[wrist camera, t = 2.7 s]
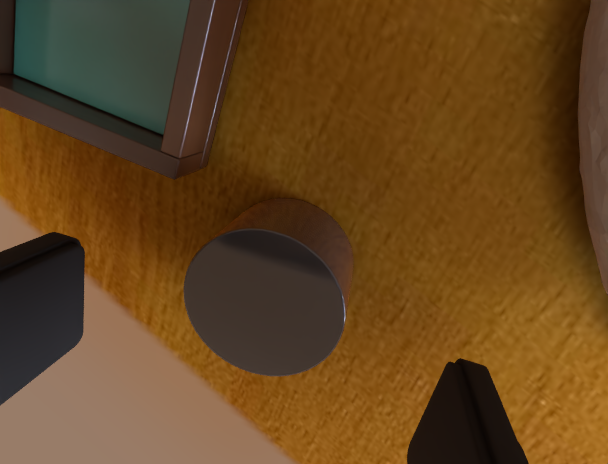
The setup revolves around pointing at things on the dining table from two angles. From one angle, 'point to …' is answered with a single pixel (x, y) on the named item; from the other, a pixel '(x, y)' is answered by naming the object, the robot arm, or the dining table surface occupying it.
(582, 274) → the dining table surface
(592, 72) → the decorative stone
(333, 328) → the dark gray cylinder
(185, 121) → the divided tray
